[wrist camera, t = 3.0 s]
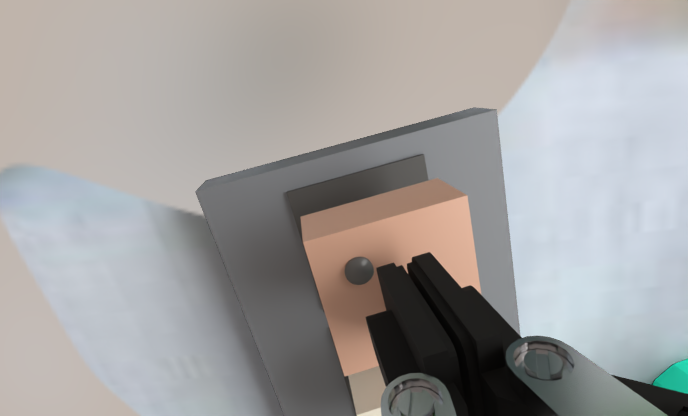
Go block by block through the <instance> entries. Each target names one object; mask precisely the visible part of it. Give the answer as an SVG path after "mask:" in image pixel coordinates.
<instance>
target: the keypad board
mask: <svg viewBox="0 0 688 416" xmlns="http://www.w3.org/2000/svg"><path fill="white" fill-rule="evenodd" d="M436 178H438V179H440V180H442V181H444V182H445V183H447V184H449V185H450V186H452V187H454V188H456V189H457V190H459V191H461V192H463V193H464V194H466V195H467V196H468V203H469V210H470V217H471V224H472V232H473V239H474V246H475V253H476V260H477V267H478V274H479V281H480V288H481V295H482V296H483V297H484V298H485V299H486V300H487V301H488V302H489V303H490V305H491V306H492V307H493V308H494V309H495V310H496V311H497V312H498V313H499V314H500V315H501V316H502V317H503V318H504V319H505V320H506V322H507V323H508V324H509V325H510V326H511V327H512V328H513V329H514V330H515V331H516V332H517V333H518V334H519V335H520V328H519V319H518V309H517V300H516V290H515V281H514V271H513V262H512V252H511V242H510V233H509V223H508V214H507V204H506V195H505V185H504V176H503V166H502V157H501V147H500V137H499V128H498V118H497V110H496V109H484V108H471V109H467V110H463V111H460V112H456V113H452V114H449V115H445V116H441V117H438V118H434V119H431V120H427V121H423V122H419V123H416V124H412V125H409V126H405V127H401V128H397V129H394V130H390V131H386V132H383V133H379V134H375V135H371V136H368V137H364V138H360V139H357V140H353V141H349V142H346V143H342V144H338V145H335V146H331V147H327V148H324V149H320V150H316V151H313V152H309V153H305V154H302V155H298V156H294V157H291V158H287V159H283V160H280V161H276V162H272V163H269V164H265V165H262V166H258V167H254V168H250V169H247V170H243V171H240V172H236V173H232V174H228V175H224V176H221V177H217V178H213V179H210V180H206V181H205V182H204V183H203V184H202V185H201V186H200V187H199V188H198V189H197V191H196V195H197V197H198V200H199V202H200V205H201V207H202V210H203V212H204V215H205V217H206V220H207V222H208V225H209V227H210V230H211V233H212V235H213V238H214V240H215V243H216V245H217V248H218V250H219V253H220V255H221V258H222V260H223V263H224V265H225V268H226V270H227V273H228V275H229V278H230V280H231V283H232V285H233V288H234V290H235V293H236V296H237V298H238V301H239V303H240V306H241V308H242V311H243V313H244V316H245V318H246V321H247V323H248V326H249V328H250V331H251V333H252V336H253V338H254V341H255V343H256V346H257V348H258V351H259V353H260V356H261V359H262V361H263V364H264V366H265V369H266V371H267V374H268V376H269V379H270V381H271V384H272V386H273V389H274V391H275V394H276V396H277V399H278V401H279V404H280V406H281V409H282V411H283V414H284V416H357V415H356V410H355V405H354V401H353V396H352V391H351V387H350V382H349V377H348V376H344V373H343V370H342V367H341V363H340V360H339V357H338V354H337V350H336V347H335V344H334V341H333V338H332V334H331V331H330V328H329V325H328V321H327V318H326V315H325V312H324V309H323V305H322V302H321V299H320V296H319V292H318V289H317V286H316V283H315V280H314V276H313V273H312V270H311V267H310V263H309V260H308V257H307V254H306V251H305V247H304V244H303V238H302V228H301V218H300V217H301V216H305V215H308V214H312V213H315V212H319V211H322V210H326V209H329V208H333V207H336V206H340V205H344V204H347V203H351V202H354V201H358V200H361V199H365V198H368V197H372V196H375V195H379V194H383V193H386V192H390V191H393V190H397V189H400V188H404V187H407V186H411V185H414V184H418V183H421V182H425V181H429V180H432V179H436Z"/></svg>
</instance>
